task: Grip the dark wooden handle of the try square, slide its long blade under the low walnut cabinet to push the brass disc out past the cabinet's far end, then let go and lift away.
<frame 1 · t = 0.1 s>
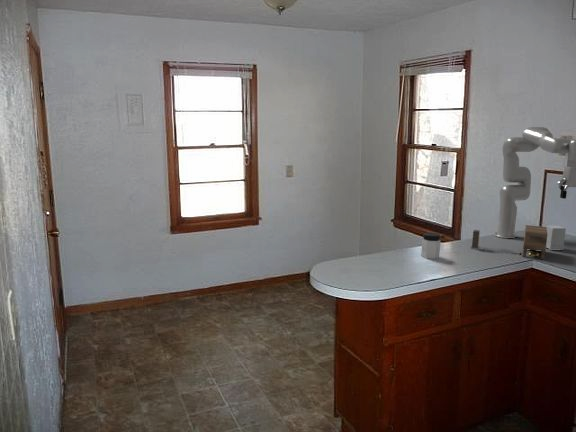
hand: (570, 198, 249), 31 cm above the worktop, tool pointing down, fingers open, 9 cm apart
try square: (474, 248, 269), on the worktop
supplement box: (553, 249, 270), on the worktop
cabinet: (533, 253, 260), on the worktop
jar: (430, 257, 251), on the worktop
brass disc: (533, 255, 257), on the worktop
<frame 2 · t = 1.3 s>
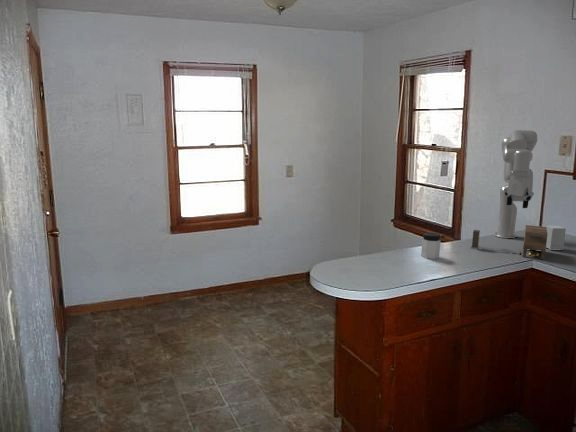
hand: (516, 206, 258), 25 cm above the worktop, tool pointing down, fingers open, 9 cm apart
nothing on the worktop moved.
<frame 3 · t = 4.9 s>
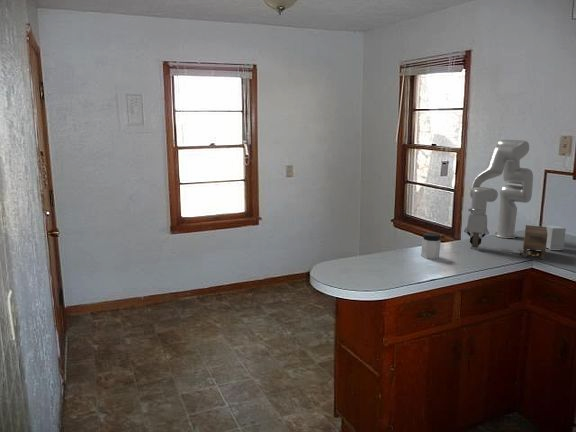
hand: (475, 244, 269), 2 cm above the worktop, tool pointing down, fingers closed on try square, 3 cm apart
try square: (474, 248, 269), on the worktop, touching gripper
everything else where it was.
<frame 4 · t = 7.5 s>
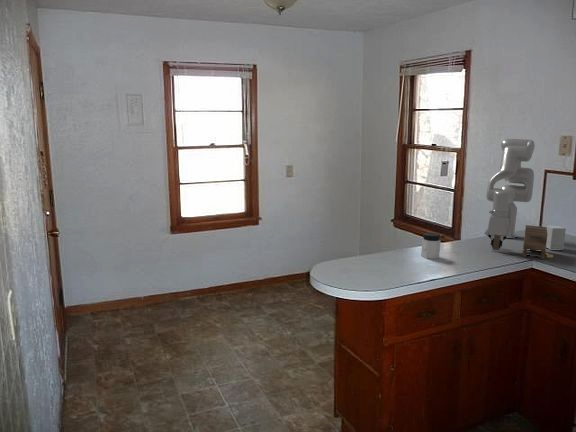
hand: (496, 246, 264), 2 cm above the worktop, tool pointing down, fingers closed on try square, 3 cm apart
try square: (495, 250, 265), on the worktop, touching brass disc, gripper
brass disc: (547, 257, 254), on the worktop, touching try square
everything else where it was.
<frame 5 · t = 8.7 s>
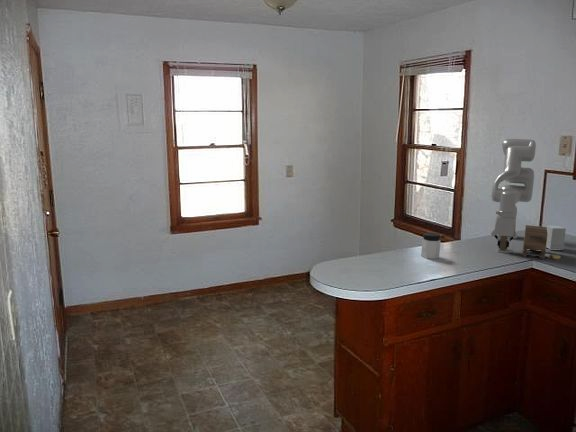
hand: (502, 247, 263), 2 cm above the worktop, tool pointing down, fingers closed on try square, 3 cm apart
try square: (502, 251, 264), on the worktop, touching gripper
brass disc: (554, 258, 253), on the worktop
everything else where it was.
when the fingers open (2 cm above the worktop, at t = 9.6 s): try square stays where it is, on the worktop.
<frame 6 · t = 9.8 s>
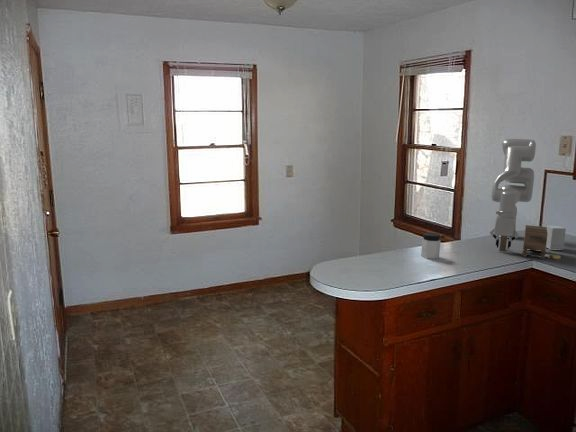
hand: (502, 247, 263), 2 cm above the worktop, tool pointing down, fingers open, 4 cm apart
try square: (502, 251, 264), on the worktop
everything else where it was.
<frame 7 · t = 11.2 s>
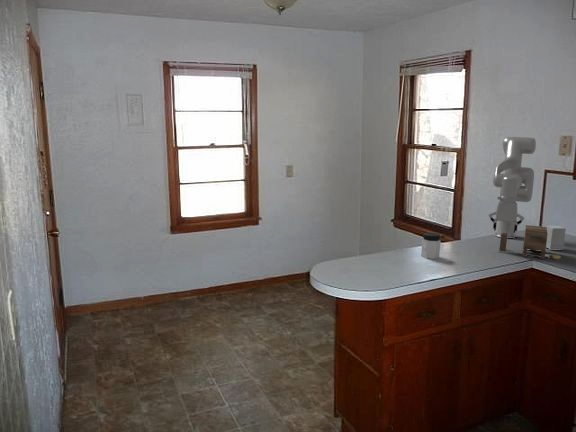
hand: (504, 231, 262), 11 cm above the worktop, tool pointing down, fingers open, 9 cm apart
nothing on the worktop moved.
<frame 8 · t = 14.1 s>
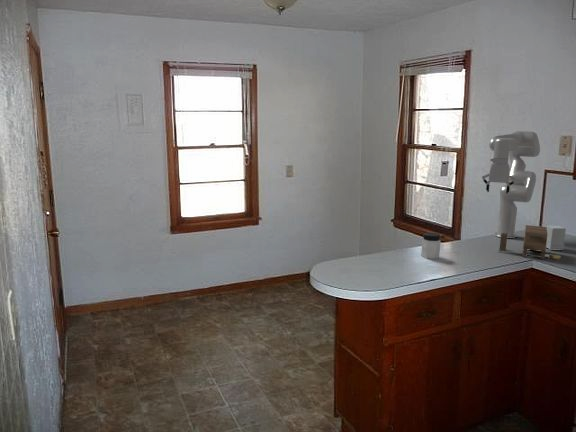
hand: (497, 192, 270), 30 cm above the worktop, tool pointing down, fingers open, 9 cm apart
nothing on the worktop moved.
at the end: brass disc inside the target area (1.6 cm from its centre), on the worktop; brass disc tilted 1°; the gripper is holding nothing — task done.
